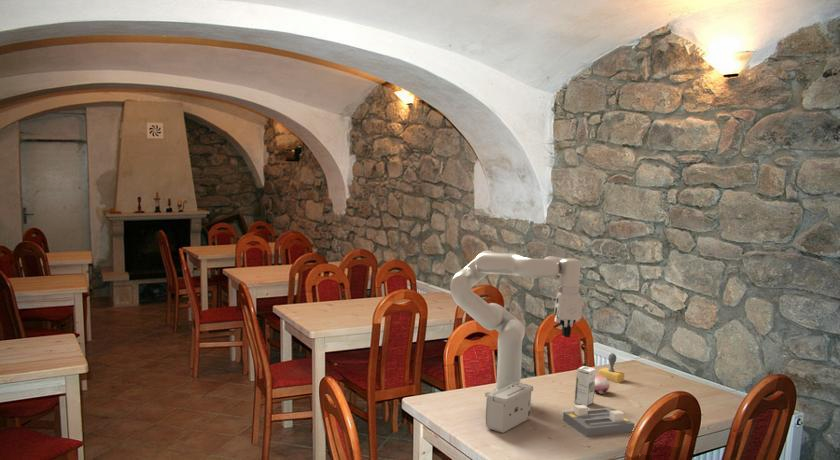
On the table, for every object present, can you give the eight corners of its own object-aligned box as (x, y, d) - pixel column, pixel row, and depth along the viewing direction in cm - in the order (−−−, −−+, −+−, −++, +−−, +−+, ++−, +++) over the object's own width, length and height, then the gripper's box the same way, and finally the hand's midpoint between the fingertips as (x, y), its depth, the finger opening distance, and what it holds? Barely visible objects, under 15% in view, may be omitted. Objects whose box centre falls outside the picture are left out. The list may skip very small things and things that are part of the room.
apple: (607, 390, 284) (608, 374, 283) (610, 396, 276) (612, 379, 276) (588, 388, 285) (589, 372, 284) (591, 394, 277) (592, 378, 276)
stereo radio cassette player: (514, 413, 253) (516, 363, 251) (533, 419, 247) (535, 367, 245) (483, 429, 236) (486, 375, 235) (503, 435, 231) (506, 380, 229)
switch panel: (586, 436, 233) (586, 426, 232) (563, 419, 248) (563, 410, 247) (634, 431, 239) (634, 421, 239) (608, 415, 254) (609, 406, 254)
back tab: (578, 416, 243) (578, 408, 243) (573, 413, 246) (574, 405, 246) (587, 415, 245) (588, 407, 244) (583, 412, 247) (583, 404, 247)
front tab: (614, 422, 239) (614, 414, 239) (609, 419, 242) (609, 411, 241) (623, 421, 240) (624, 413, 240) (618, 418, 243) (619, 410, 243)
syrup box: (580, 399, 271) (582, 365, 269) (593, 403, 267) (596, 368, 266) (574, 403, 266) (576, 368, 265) (587, 406, 263) (590, 371, 261)
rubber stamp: (598, 377, 301) (599, 352, 300) (604, 375, 305) (606, 349, 304) (617, 383, 294) (619, 357, 293) (624, 380, 298) (626, 354, 297)
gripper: (556, 292, 250) (554, 339, 251) (590, 291, 254) (587, 337, 256) (547, 288, 257) (544, 334, 259) (580, 288, 262) (577, 333, 263)
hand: (566, 336), depth 257 cm, fingers closed
